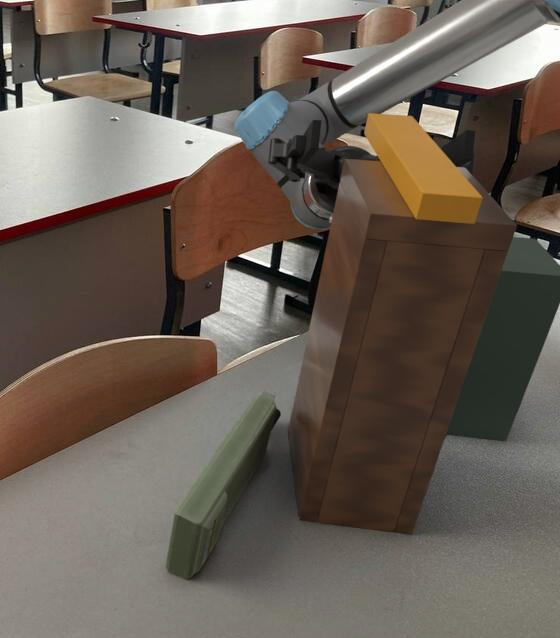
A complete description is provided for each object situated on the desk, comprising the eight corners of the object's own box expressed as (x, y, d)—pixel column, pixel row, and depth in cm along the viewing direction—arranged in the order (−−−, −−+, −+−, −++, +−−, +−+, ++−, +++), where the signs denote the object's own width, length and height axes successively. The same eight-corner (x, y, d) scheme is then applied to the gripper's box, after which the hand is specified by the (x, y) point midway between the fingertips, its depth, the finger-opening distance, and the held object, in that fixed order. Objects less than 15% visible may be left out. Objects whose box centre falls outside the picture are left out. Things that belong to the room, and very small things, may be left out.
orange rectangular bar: (407, 136, 72) (412, 115, 71) (474, 224, 53) (483, 197, 52) (363, 133, 73) (368, 112, 72) (415, 219, 54) (422, 192, 53)
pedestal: (480, 392, 88) (535, 238, 78) (506, 441, 80) (570, 276, 71) (391, 383, 89) (435, 230, 80) (408, 430, 82) (458, 266, 72)
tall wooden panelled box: (384, 444, 79) (465, 167, 64) (412, 534, 68) (517, 225, 53) (287, 432, 81) (344, 158, 66) (299, 519, 69) (370, 213, 55)
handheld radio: (158, 567, 64) (257, 416, 83) (194, 585, 63) (287, 427, 82) (168, 510, 61) (269, 365, 79) (206, 527, 59) (300, 376, 78)
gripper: (447, 223, 89) (531, 191, 68) (232, 206, 92) (249, 169, 71) (453, 160, 89) (540, 108, 68) (239, 144, 92) (258, 90, 71)
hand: (391, 139), depth 70 cm, fingers open, 13 cm apart
